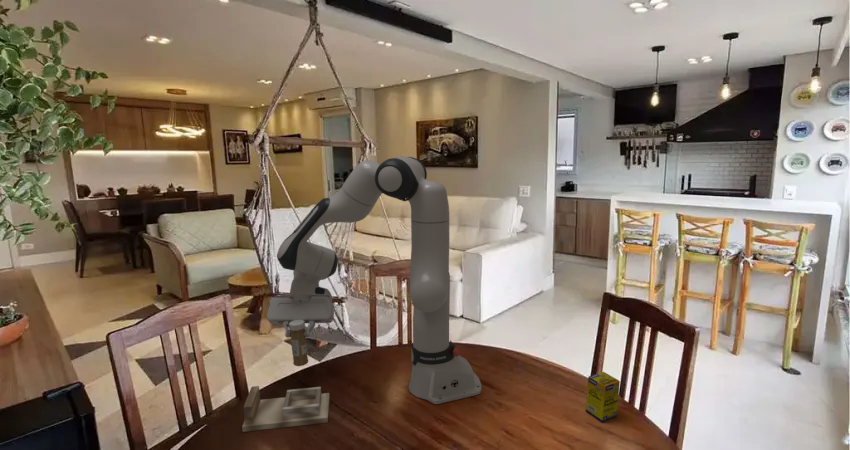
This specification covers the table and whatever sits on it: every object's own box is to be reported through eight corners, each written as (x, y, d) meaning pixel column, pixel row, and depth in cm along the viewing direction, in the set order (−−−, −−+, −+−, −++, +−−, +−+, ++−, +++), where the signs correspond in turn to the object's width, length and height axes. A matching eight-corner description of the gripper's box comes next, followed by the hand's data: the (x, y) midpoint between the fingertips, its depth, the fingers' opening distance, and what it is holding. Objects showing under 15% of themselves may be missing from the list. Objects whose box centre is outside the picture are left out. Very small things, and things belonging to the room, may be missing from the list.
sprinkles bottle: (310, 363, 134) (306, 322, 132) (295, 368, 132) (291, 326, 129) (305, 358, 138) (301, 317, 136) (291, 362, 135) (286, 321, 133)
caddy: (329, 397, 131) (328, 377, 130) (327, 422, 120) (326, 400, 118) (252, 405, 128) (250, 384, 126) (242, 431, 116) (240, 409, 115)
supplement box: (602, 423, 118) (605, 386, 116) (585, 411, 123) (587, 375, 121) (617, 416, 121) (620, 380, 119) (600, 405, 126) (602, 370, 124)
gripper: (268, 290, 138) (259, 333, 130) (333, 289, 138) (328, 332, 130) (274, 299, 143) (266, 340, 135) (337, 297, 143) (332, 339, 135)
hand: (297, 336), depth 133 cm, fingers closed on sprinkles bottle, 4 cm apart
